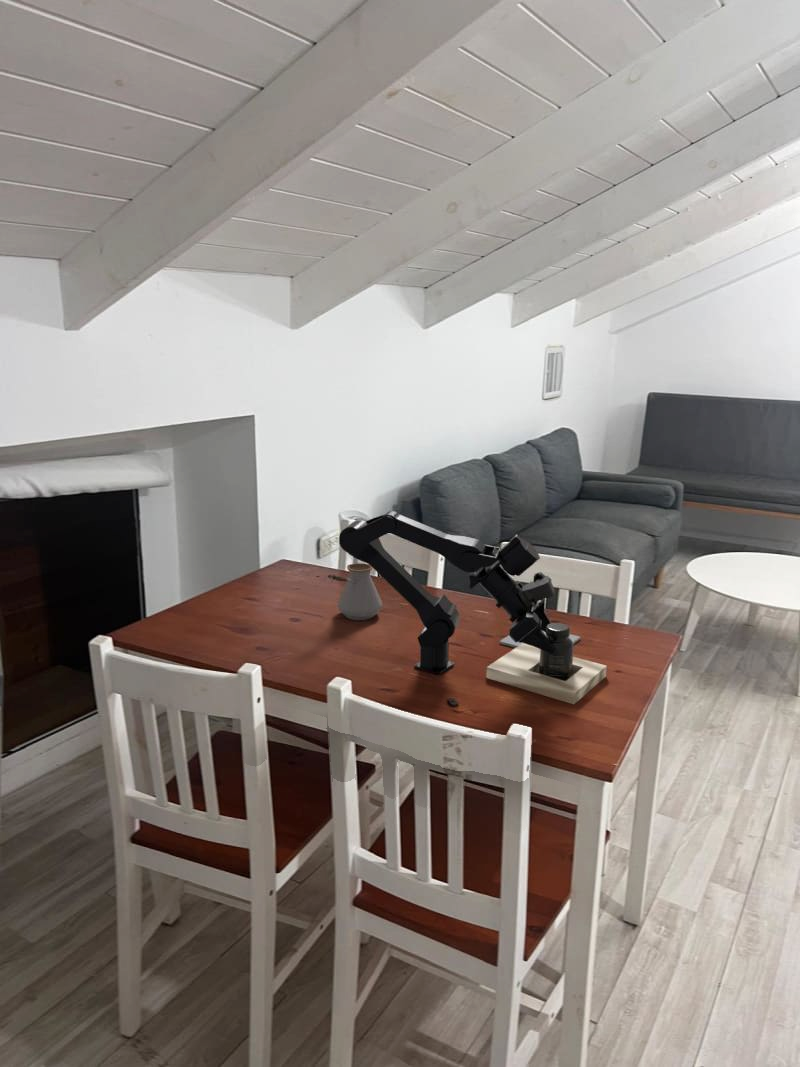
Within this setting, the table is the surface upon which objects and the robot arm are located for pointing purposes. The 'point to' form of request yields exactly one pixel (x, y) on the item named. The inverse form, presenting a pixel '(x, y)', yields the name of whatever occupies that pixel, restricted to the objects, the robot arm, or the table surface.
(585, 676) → the well board
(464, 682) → the table surface
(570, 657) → the supplement bottle
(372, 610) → the coffee pot
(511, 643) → the rubber mat
